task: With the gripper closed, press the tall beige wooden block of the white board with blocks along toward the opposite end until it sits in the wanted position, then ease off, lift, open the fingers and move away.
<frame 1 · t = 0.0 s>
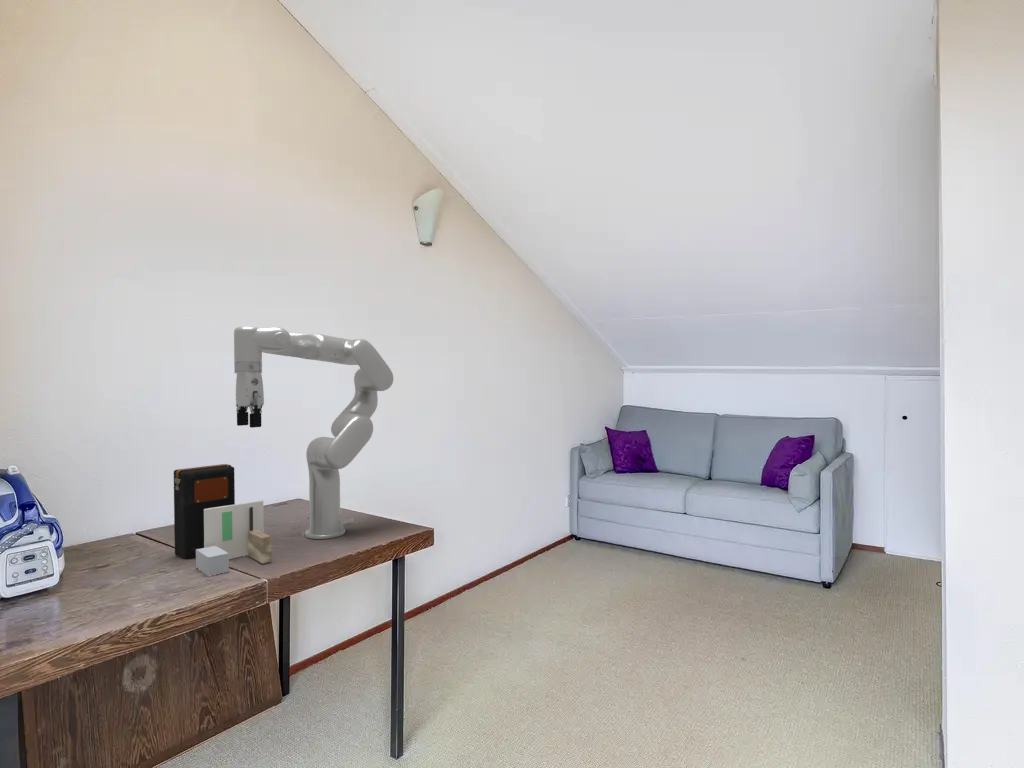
hand: (249, 426, 179), 37 cm above the table, tool pointing down, fingers open, 9 cm apart
tall beige wooden block: (258, 534, 169), point 7 cm above the table, slide at 0.0 cm
voltmeter: (206, 552, 177), on the table
white board with blocks: (259, 559, 169), on the table
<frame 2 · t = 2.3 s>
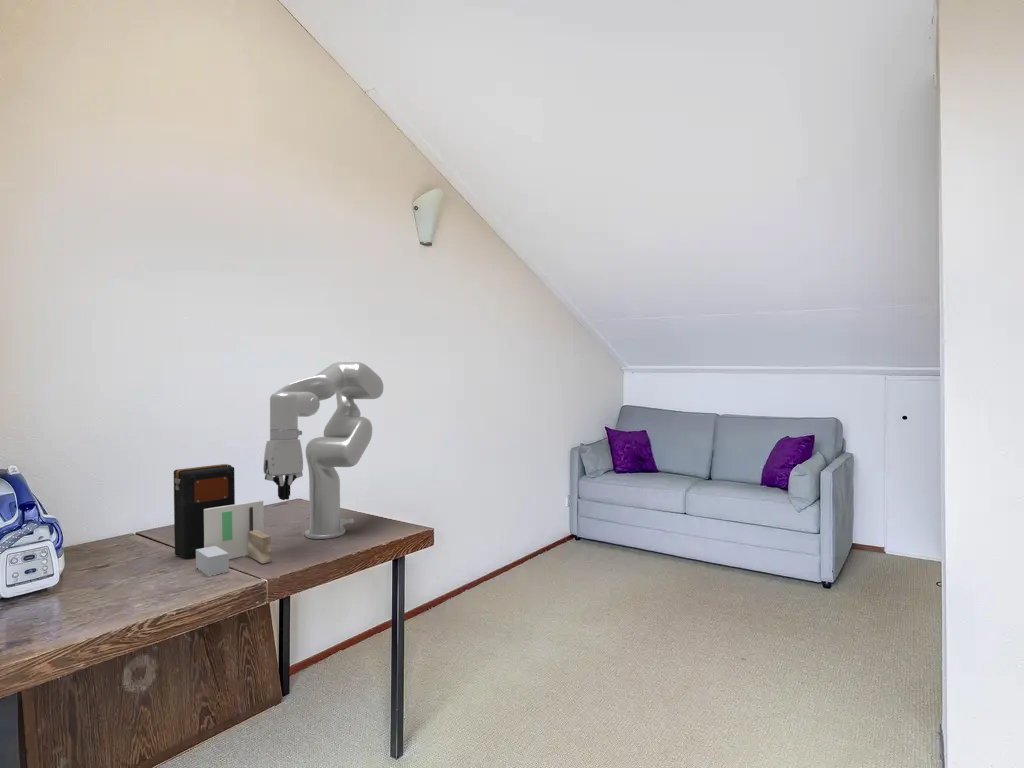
hand: (284, 498, 174), 16 cm above the table, tool pointing down, fingers closed
nothing on the table moved.
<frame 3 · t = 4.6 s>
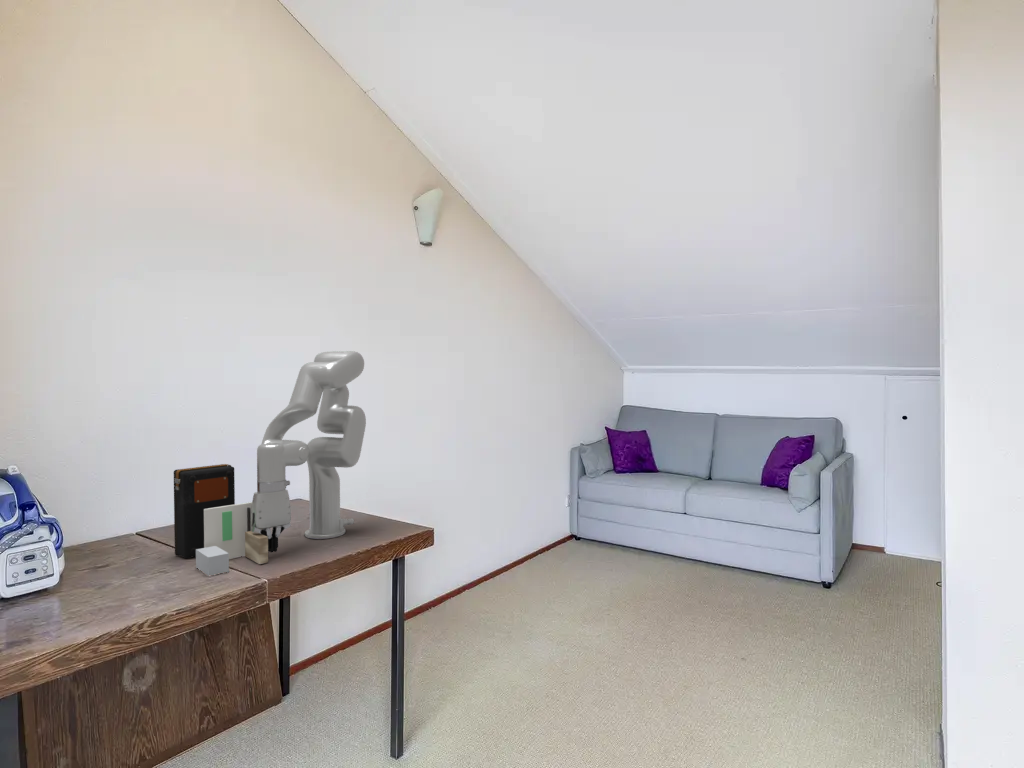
hand: (271, 551, 172), 2 cm above the table, tool pointing down, fingers closed
tall beige wooden block: (255, 534, 169), point 7 cm above the table, slide at 0.8 cm, touching gripper
everything else where it was.
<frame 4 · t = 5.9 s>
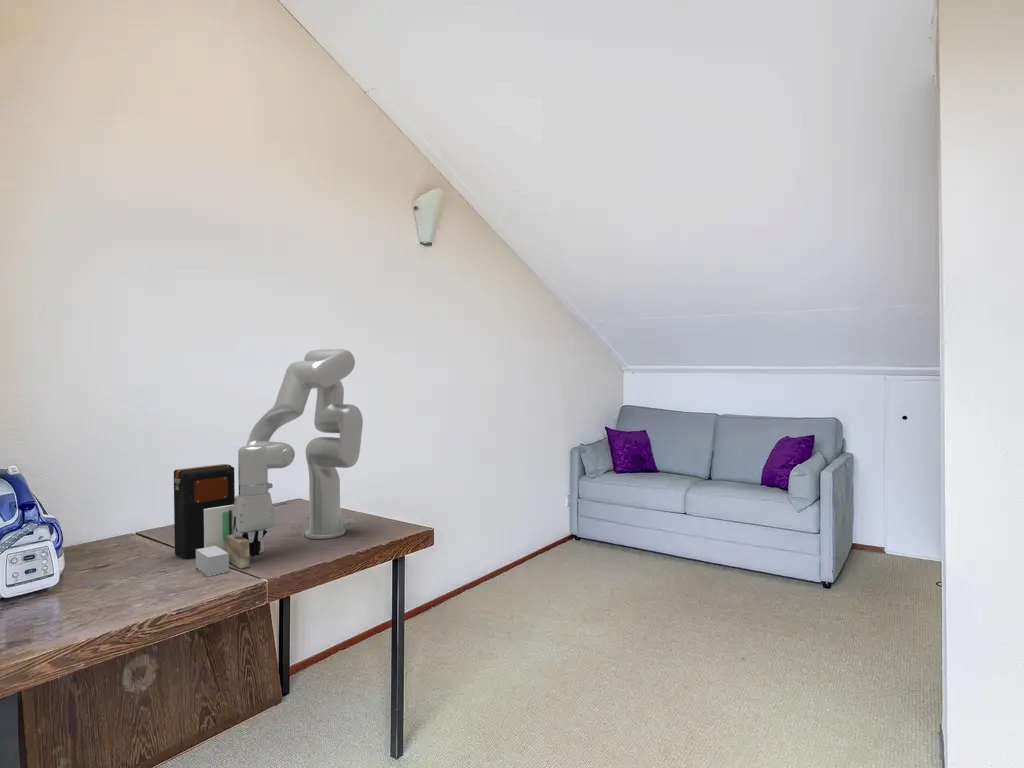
hand: (254, 555, 168), 2 cm above the table, tool pointing down, fingers closed
tall beige wooden block: (237, 538, 165), point 7 cm above the table, slide at 5.9 cm
everything else where it was.
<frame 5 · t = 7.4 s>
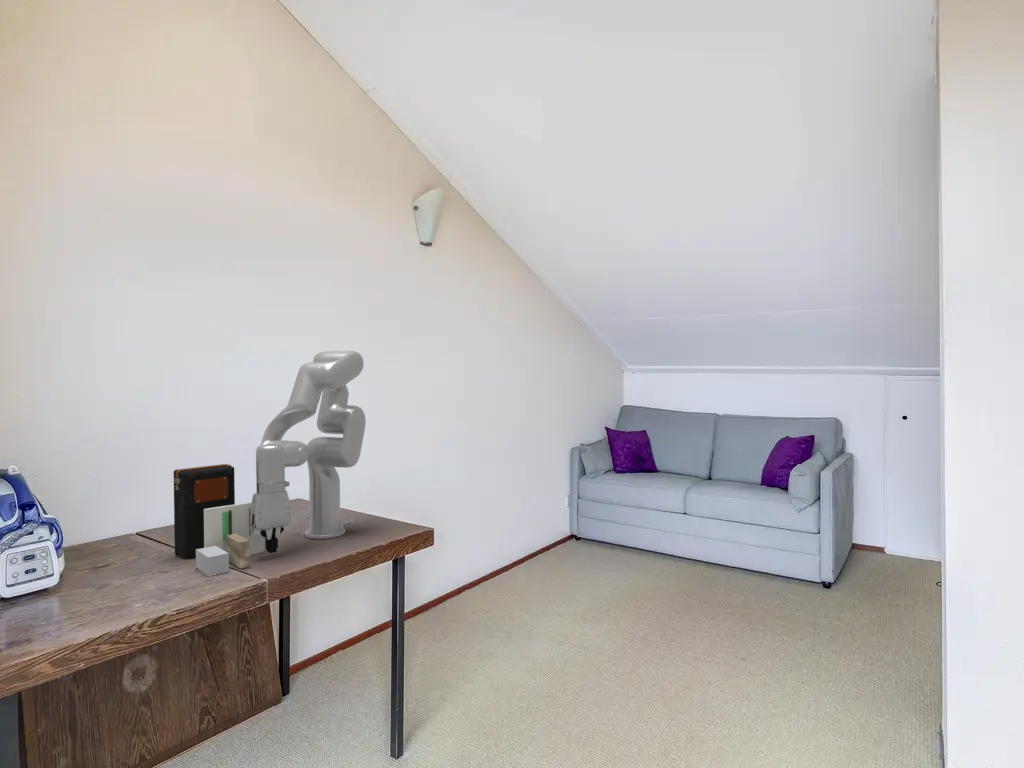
hand: (271, 551, 172), 1 cm above the table, tool pointing down, fingers closed
nothing on the table moved.
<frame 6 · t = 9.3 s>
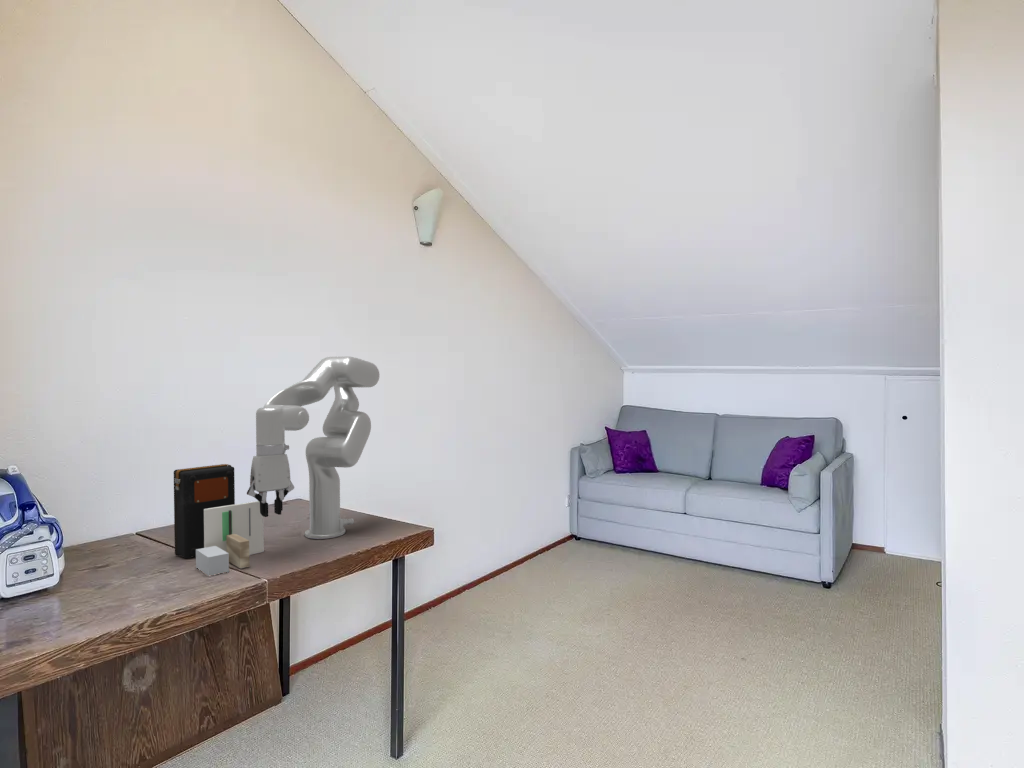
hand: (271, 514, 172), 12 cm above the table, tool pointing down, fingers open, 3 cm apart
nothing on the table moved.
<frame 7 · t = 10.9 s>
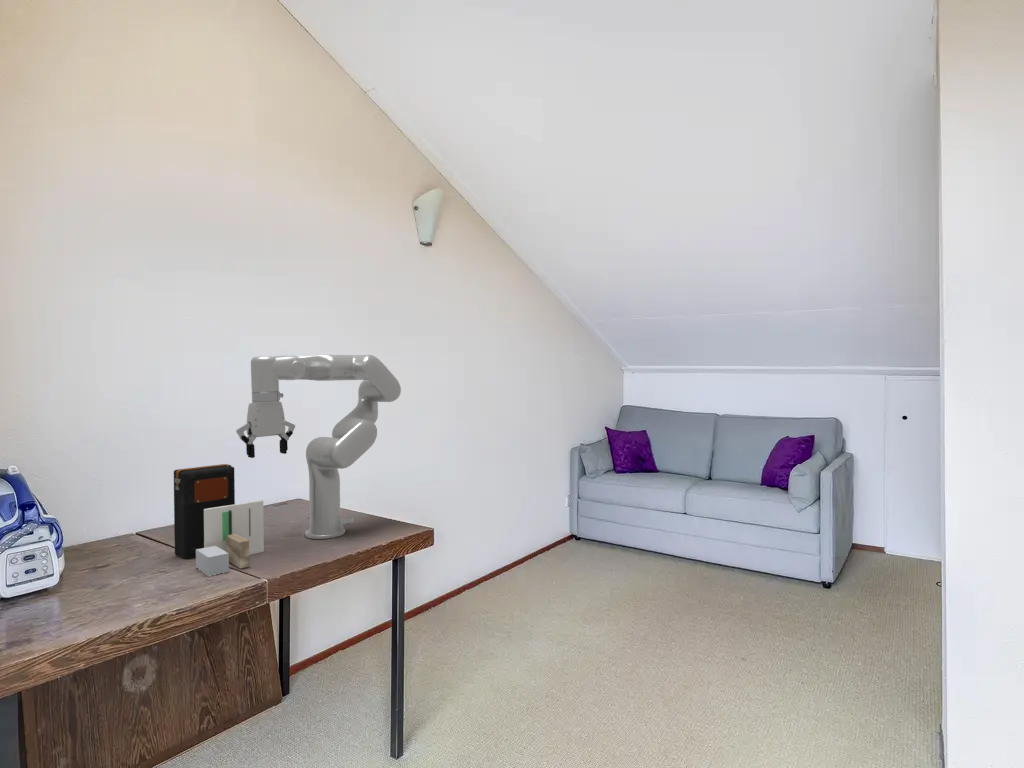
hand: (267, 455, 179), 28 cm above the table, tool pointing down, fingers open, 9 cm apart
nothing on the table moved.
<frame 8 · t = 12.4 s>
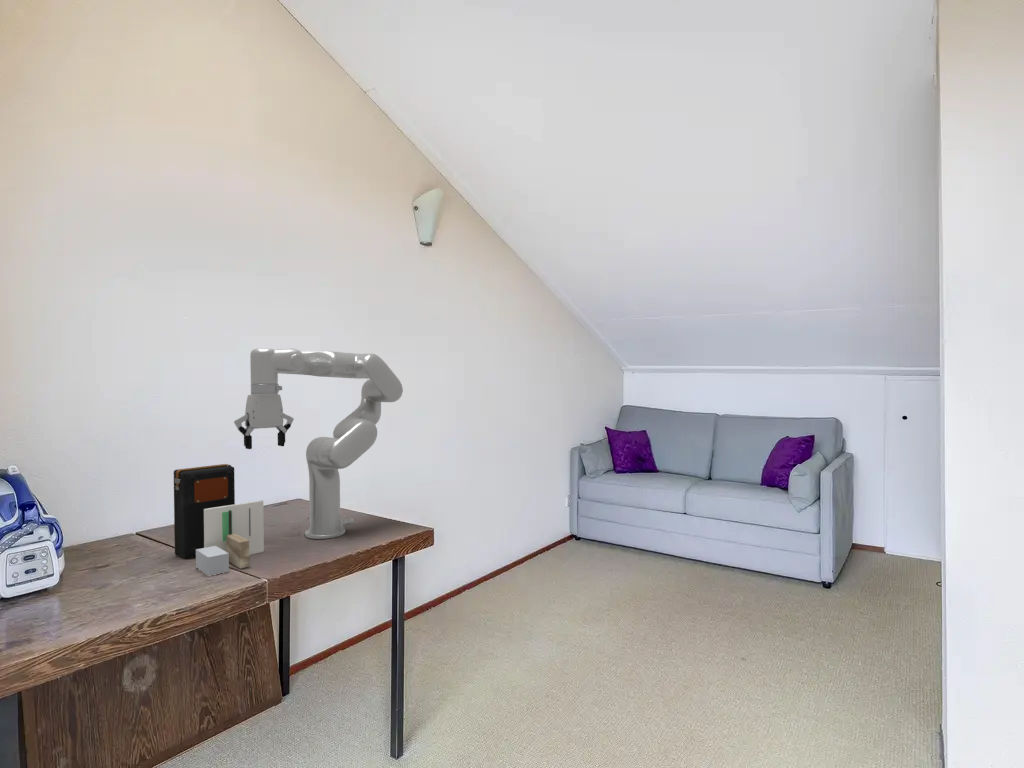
hand: (265, 447, 180), 30 cm above the table, tool pointing down, fingers open, 9 cm apart
nothing on the table moved.
at the end: tall beige wooden block slide at 5.9 cm; voltmeter moved 0.2 cm from its start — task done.
